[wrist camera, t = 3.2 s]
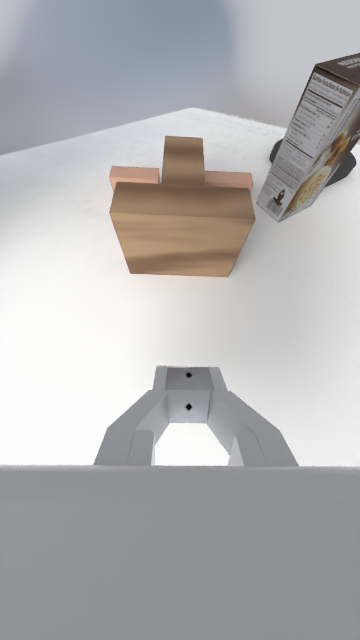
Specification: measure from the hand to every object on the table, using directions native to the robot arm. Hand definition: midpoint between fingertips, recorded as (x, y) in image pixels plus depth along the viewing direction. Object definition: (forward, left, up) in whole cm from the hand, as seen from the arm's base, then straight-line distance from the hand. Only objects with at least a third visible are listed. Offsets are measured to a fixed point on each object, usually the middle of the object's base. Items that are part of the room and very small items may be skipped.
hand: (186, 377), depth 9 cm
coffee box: (+4, +39, -14) cm, 41 cm away
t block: (-10, +21, -14) cm, 27 cm away
